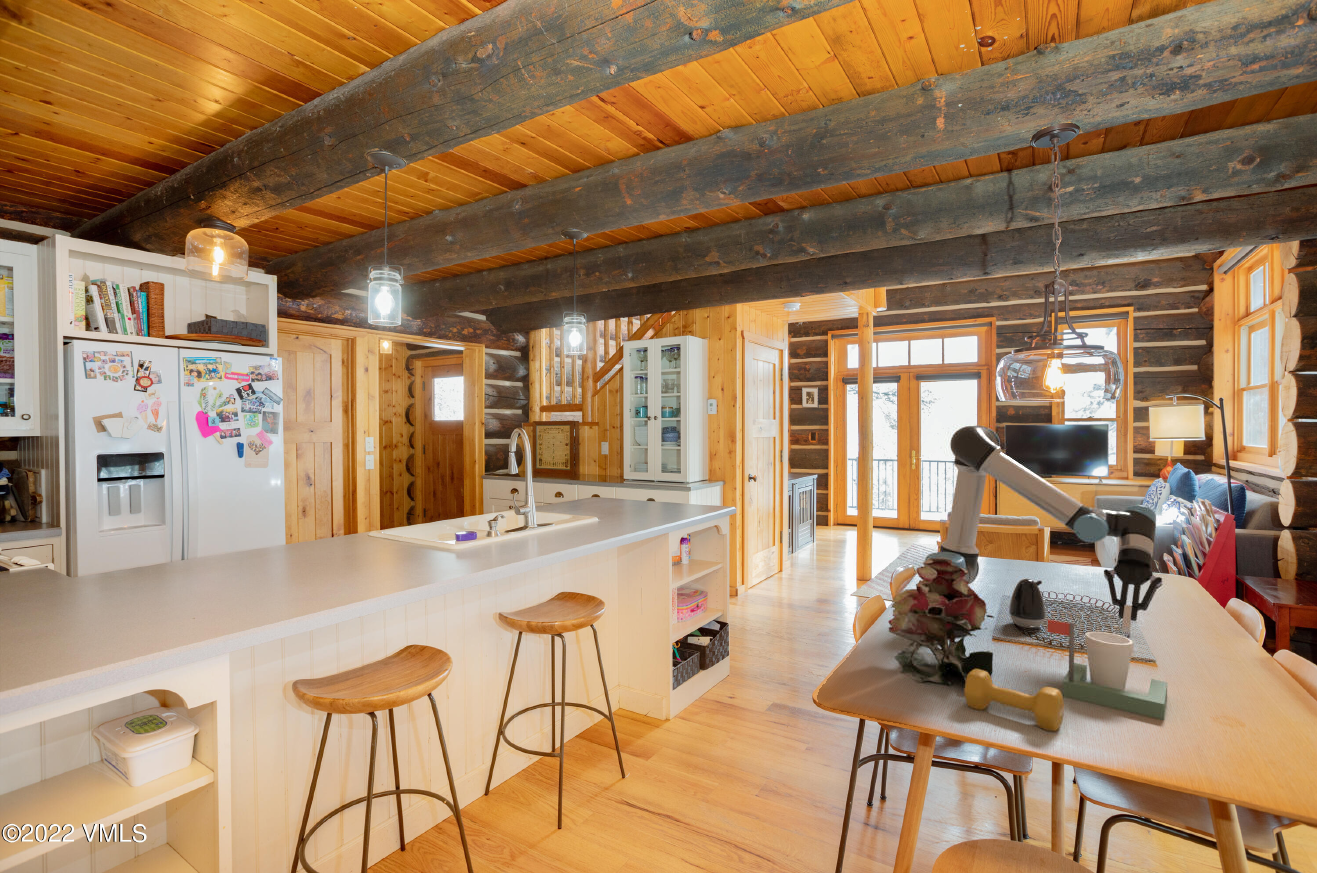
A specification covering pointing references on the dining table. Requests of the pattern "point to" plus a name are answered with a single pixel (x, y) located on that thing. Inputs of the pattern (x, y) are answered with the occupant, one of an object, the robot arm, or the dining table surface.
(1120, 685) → the foam cup
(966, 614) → the rose bouquet
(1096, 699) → the putting pocket
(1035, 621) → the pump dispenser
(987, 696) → the dumbbell
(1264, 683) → the dining table surface
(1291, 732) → the dining table surface
